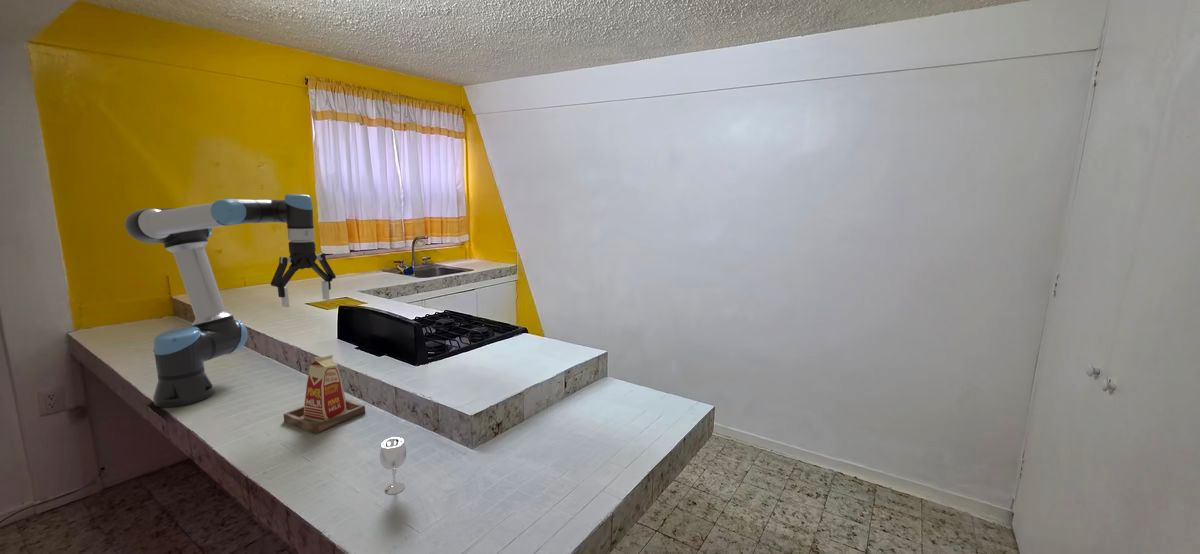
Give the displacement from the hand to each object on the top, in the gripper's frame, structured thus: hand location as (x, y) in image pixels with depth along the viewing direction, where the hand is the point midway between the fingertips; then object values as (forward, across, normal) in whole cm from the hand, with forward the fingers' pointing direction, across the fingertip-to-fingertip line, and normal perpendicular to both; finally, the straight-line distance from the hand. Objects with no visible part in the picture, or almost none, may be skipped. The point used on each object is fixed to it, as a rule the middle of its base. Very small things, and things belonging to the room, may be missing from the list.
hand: (306, 302), depth 156 cm
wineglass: (+33, -23, -70) cm, 81 cm away
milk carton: (+32, -9, -21) cm, 39 cm away
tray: (+33, -9, -21) cm, 40 cm away
